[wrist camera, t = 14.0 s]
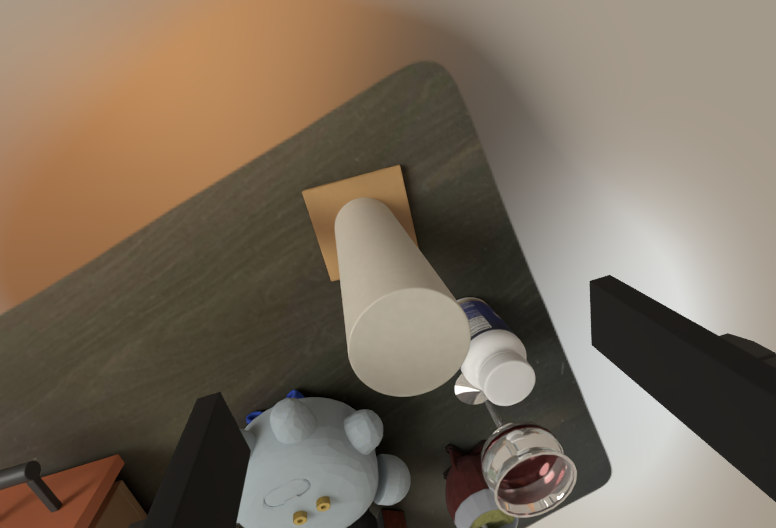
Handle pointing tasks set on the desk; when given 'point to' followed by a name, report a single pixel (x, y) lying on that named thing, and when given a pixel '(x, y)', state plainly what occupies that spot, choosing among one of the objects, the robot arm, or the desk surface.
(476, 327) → the pill bottle
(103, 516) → the drawer
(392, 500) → the figurine
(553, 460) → the wineglass
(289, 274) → the desk surface
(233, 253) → the desk surface
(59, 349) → the desk surface
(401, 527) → the radio
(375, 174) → the coaster
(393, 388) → the canister
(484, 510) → the mate gourd
